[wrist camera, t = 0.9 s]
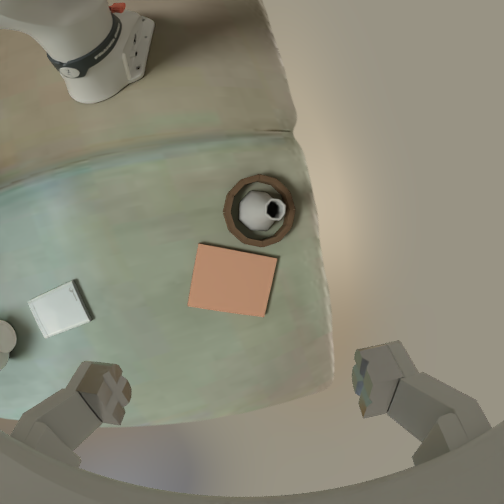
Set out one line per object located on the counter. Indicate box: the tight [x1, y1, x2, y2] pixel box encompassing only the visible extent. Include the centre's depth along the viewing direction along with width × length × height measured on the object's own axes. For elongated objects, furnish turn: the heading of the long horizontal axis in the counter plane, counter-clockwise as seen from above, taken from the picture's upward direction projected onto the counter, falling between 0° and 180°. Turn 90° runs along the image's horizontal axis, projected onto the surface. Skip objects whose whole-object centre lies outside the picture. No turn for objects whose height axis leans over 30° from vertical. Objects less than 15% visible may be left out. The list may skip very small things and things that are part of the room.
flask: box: [238, 191, 286, 231], centre depth 44 cm, size 7×7×10 cm
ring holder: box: [223, 174, 295, 247], centre depth 48 cm, size 12×12×2 cm
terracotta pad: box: [188, 243, 277, 317], centre depth 49 cm, size 11×14×1 cm
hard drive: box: [28, 280, 92, 339], centre depth 42 cm, size 2×8×12 cm
